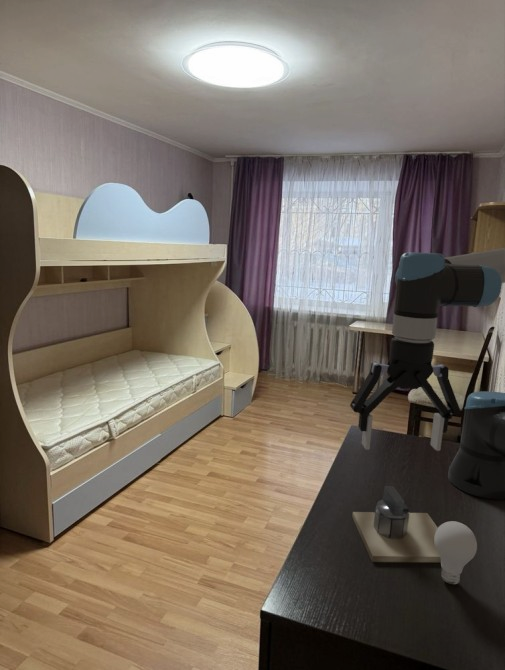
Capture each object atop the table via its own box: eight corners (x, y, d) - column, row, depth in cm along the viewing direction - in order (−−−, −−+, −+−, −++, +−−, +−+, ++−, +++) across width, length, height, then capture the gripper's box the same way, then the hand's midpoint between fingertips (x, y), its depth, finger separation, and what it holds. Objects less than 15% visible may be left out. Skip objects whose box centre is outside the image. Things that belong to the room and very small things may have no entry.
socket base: (426, 518, 100) (429, 499, 99) (458, 562, 86) (461, 541, 85) (352, 517, 99) (354, 498, 98) (372, 561, 85) (374, 540, 84)
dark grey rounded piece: (410, 538, 90) (415, 501, 89) (380, 539, 90) (384, 502, 88) (398, 520, 96) (402, 485, 95) (370, 520, 96) (374, 485, 94)
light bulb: (474, 599, 77) (484, 539, 75) (432, 592, 78) (440, 533, 76) (465, 572, 83) (474, 516, 81) (426, 565, 85) (433, 510, 82)
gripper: (468, 336, 90) (454, 440, 94) (340, 332, 88) (331, 437, 92) (490, 345, 82) (473, 457, 87) (350, 340, 81) (340, 454, 85)
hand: (400, 447), depth 90 cm, fingers open, 13 cm apart
